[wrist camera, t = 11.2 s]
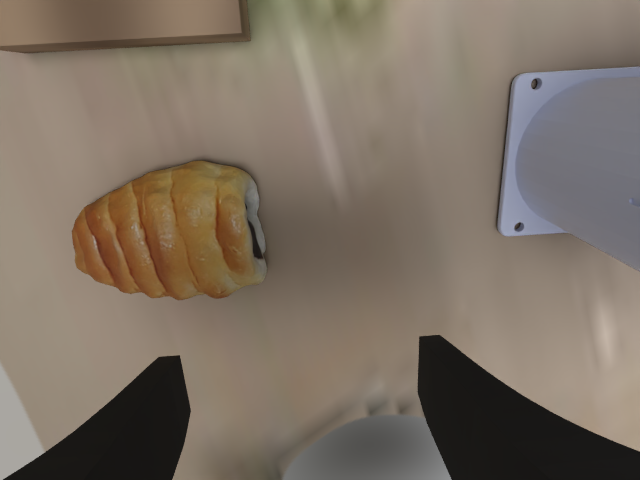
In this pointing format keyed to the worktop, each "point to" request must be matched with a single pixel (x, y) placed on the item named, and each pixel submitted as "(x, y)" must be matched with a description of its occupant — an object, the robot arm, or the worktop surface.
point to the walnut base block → (118, 23)
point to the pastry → (175, 233)
